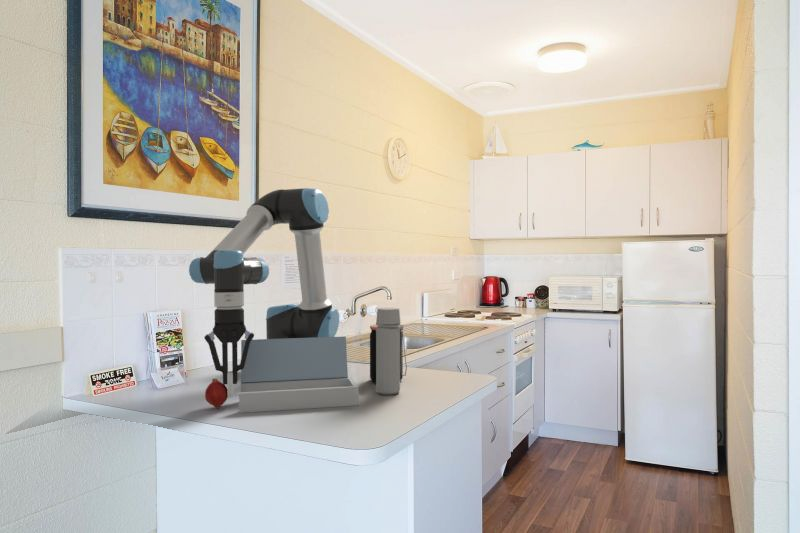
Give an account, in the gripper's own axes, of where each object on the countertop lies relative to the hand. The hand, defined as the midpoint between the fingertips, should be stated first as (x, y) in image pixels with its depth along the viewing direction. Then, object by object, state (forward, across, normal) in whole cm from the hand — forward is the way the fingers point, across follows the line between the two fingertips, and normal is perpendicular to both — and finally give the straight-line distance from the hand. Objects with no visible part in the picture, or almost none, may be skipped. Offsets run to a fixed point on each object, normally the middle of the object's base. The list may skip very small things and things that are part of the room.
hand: (230, 396), depth 149 cm
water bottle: (+4, +45, +6) cm, 46 cm away
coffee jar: (+4, +48, +22) cm, 53 cm away
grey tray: (+3, +17, 0) cm, 18 cm away
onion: (+3, -3, 0) cm, 5 cm away
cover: (-2, +18, +6) cm, 19 cm away
